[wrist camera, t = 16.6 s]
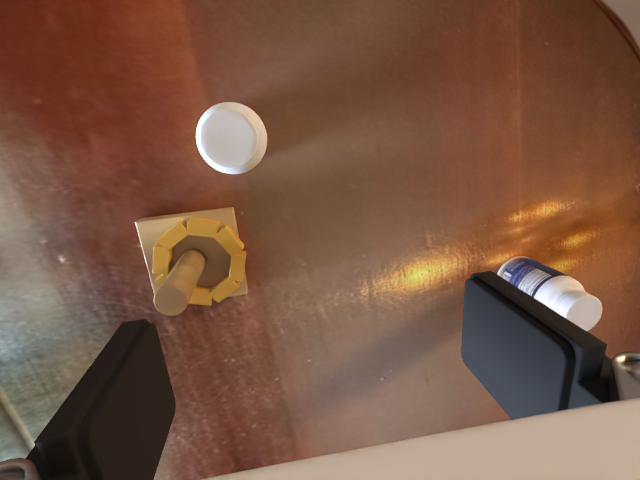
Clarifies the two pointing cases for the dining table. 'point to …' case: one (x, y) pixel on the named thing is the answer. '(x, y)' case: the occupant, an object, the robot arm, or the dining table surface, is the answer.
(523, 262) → the pill bottle
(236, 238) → the ring
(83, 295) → the dining table surface
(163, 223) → the post
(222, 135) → the supplement bottle
